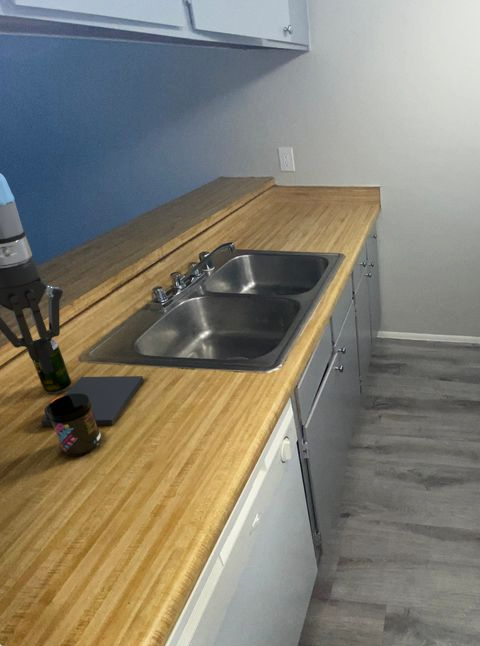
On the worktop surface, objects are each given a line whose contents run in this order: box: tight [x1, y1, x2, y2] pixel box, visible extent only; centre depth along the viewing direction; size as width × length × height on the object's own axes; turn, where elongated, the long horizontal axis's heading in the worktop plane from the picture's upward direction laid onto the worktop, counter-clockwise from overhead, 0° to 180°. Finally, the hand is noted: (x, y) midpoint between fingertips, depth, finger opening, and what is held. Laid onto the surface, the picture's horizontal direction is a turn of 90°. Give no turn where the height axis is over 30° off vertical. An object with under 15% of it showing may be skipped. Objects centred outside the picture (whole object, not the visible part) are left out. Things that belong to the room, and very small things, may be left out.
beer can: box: [31, 338, 72, 395], centre depth 108 cm, size 5×5×12 cm
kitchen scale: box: [40, 375, 144, 427], centre depth 106 cm, size 14×16×3 cm
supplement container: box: [46, 393, 102, 457], centre depth 92 cm, size 7×7×10 cm
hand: (47, 370), depth 95 cm, fingers closed
